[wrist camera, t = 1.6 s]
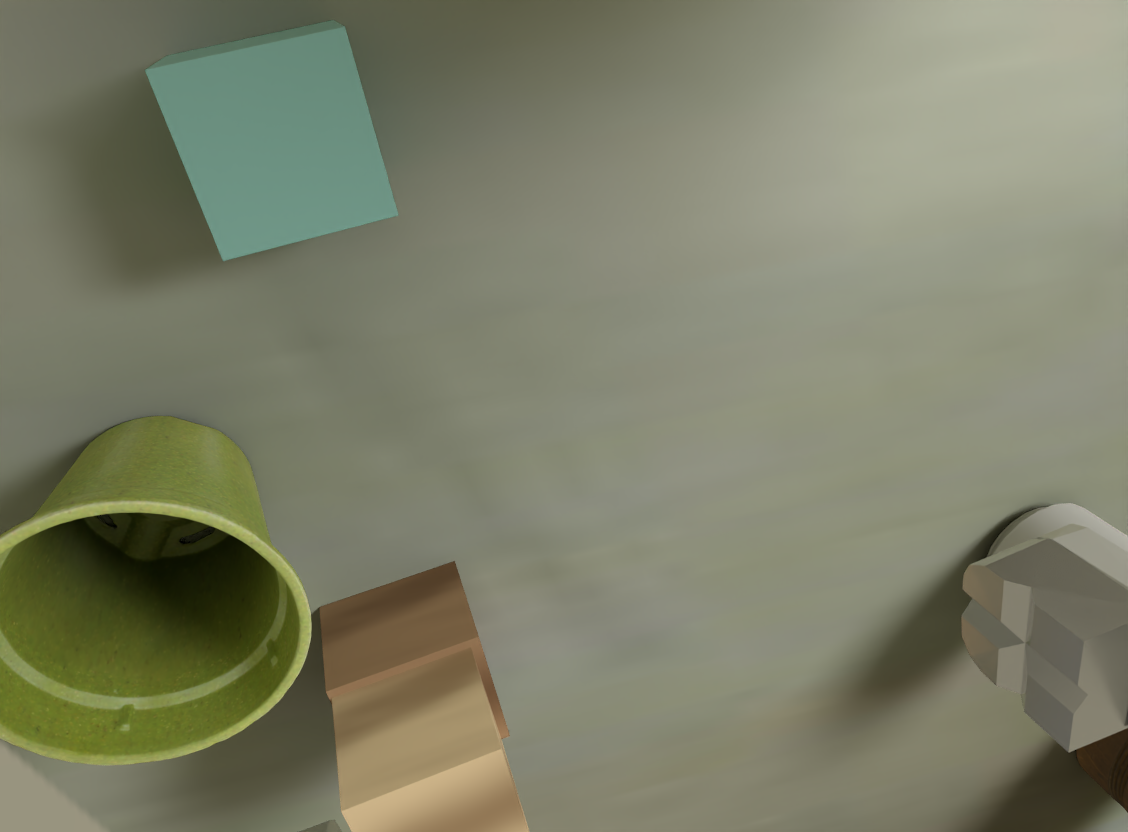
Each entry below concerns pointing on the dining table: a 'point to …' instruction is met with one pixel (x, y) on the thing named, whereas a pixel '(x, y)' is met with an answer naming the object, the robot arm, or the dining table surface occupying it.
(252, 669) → the plant pot
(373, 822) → the oak middle block
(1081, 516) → the can
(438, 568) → the walnut base block
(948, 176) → the dining table surface
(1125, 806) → the wooden container
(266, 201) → the teal block
